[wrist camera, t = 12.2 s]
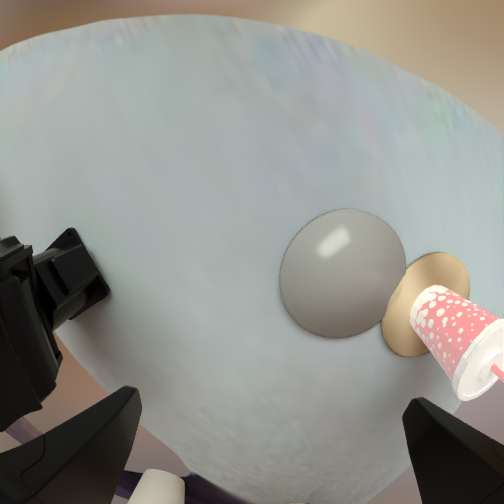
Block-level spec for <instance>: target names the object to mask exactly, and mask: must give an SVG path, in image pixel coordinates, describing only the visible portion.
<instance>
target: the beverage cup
mask: <svg viewBox="0 0 504 504" xmlns="http://www.w3.org/2000/svg"><path fill="white" fill-rule="evenodd" d="M410 323H411V325H412V327H413V329H414V330H415V332H416V333H417V334H418V335H419V337H420V338H421V339H422V341H423V342H424V343H425V345H426V346H427V348H428V349H429V350H430V352H431V353H432V354H433V356H434V357H435V358H436V360H437V361H438V363H439V364H440V366H441V367H442V368H443V370H444V371H445V373H446V374H447V376H448V377H449V378H450V380H451V381H452V387H453V389H454V392H455V393H456V394H457V397H458V398H459V399H460V400H464V401H468V400H471V399H474V398H476V397H478V396H480V395H481V394H482V393H484V392H485V391H487V390H488V389H489V388H490V387H491V386H492V385H493V384H494V383H495V382H496V381H497V380H498V379H500V380H501V381H502V382H503V383H504V319H499V318H498V317H496V316H494V315H493V314H491V313H489V312H488V311H486V310H484V309H482V308H481V307H479V306H477V305H476V304H474V303H472V302H470V301H469V300H467V299H465V298H463V297H461V296H460V295H458V294H456V293H454V292H452V291H451V290H449V289H447V288H445V287H443V286H441V285H433V286H431V287H429V288H426V289H425V290H424V291H423V292H422V293H421V294H420V295H419V296H418V297H417V299H416V301H415V302H414V304H413V306H412V309H411V312H410Z"/></svg>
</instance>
